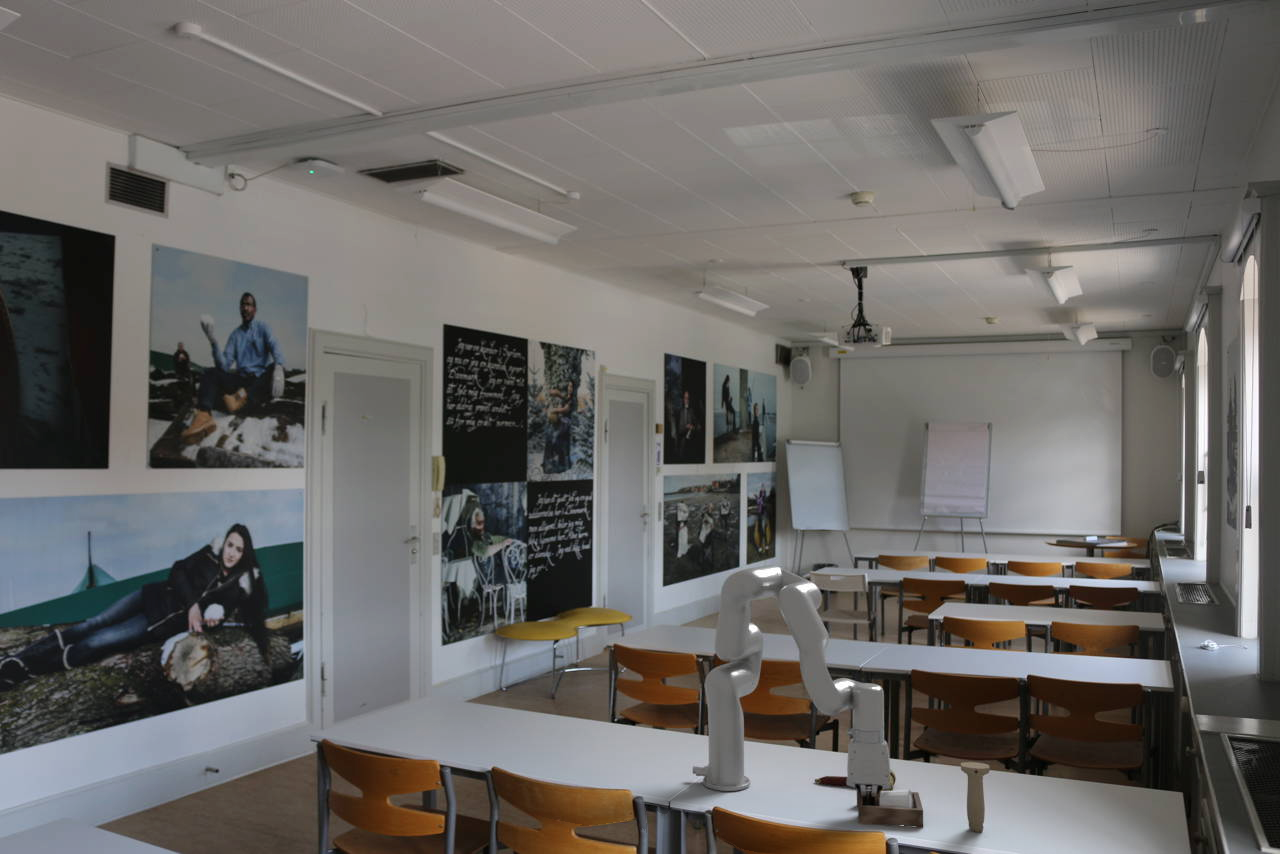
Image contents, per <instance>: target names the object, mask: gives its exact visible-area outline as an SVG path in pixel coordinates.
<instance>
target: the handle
mask: <svg viewBox="0 0 1280 854" xmlns="http://www.w3.org/2000/svg"><path fill="white" fill-rule="evenodd" d="M990 769H991V768H990V765H989V764H987V763H984V762H983V763H982V762H975V761H972V762H971V761H969V762H968V761H965V762H964V761H963V762H961V763H960V770H961V771H962V772H963V773H964V774H966V776H967V792H966V815H967V821H968V828H969V830H970V831H971V832H972V831H973V832H976V833H978V832H983V831H984V827H985V826H984V823H985V812H986V811H985V809H986V808H985V805H986V804H985V794H984V793H985V792H984V776H985V775H988V774H989V773H990V771H991V770H990Z"/></svg>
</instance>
